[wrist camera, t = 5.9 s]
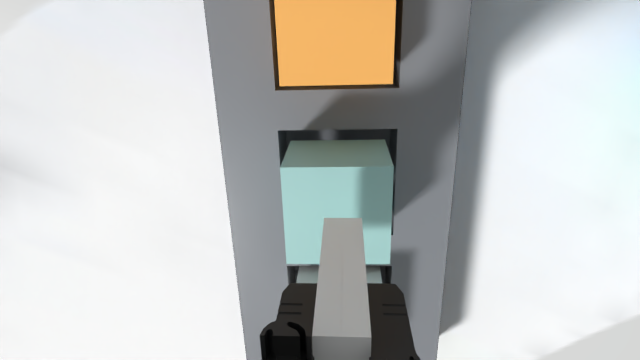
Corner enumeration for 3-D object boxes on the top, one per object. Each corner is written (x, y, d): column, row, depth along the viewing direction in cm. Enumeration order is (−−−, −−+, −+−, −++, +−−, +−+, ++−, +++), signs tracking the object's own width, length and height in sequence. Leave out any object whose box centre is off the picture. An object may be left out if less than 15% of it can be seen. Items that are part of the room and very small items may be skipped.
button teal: (295, 223, 23) (286, 264, 20) (290, 140, 22) (280, 167, 18) (382, 223, 23) (389, 264, 19) (384, 139, 21) (393, 166, 18)
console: (259, 343, 31) (249, 381, 28) (212, -107, 21) (188, -129, 17) (424, 345, 30) (434, 385, 27) (462, -118, 20) (485, -144, 17)
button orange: (290, 73, 22) (279, 86, 18) (284, -31, 20) (271, -40, 16) (384, 71, 21) (392, 83, 18) (387, -35, 20) (397, -45, 16)
